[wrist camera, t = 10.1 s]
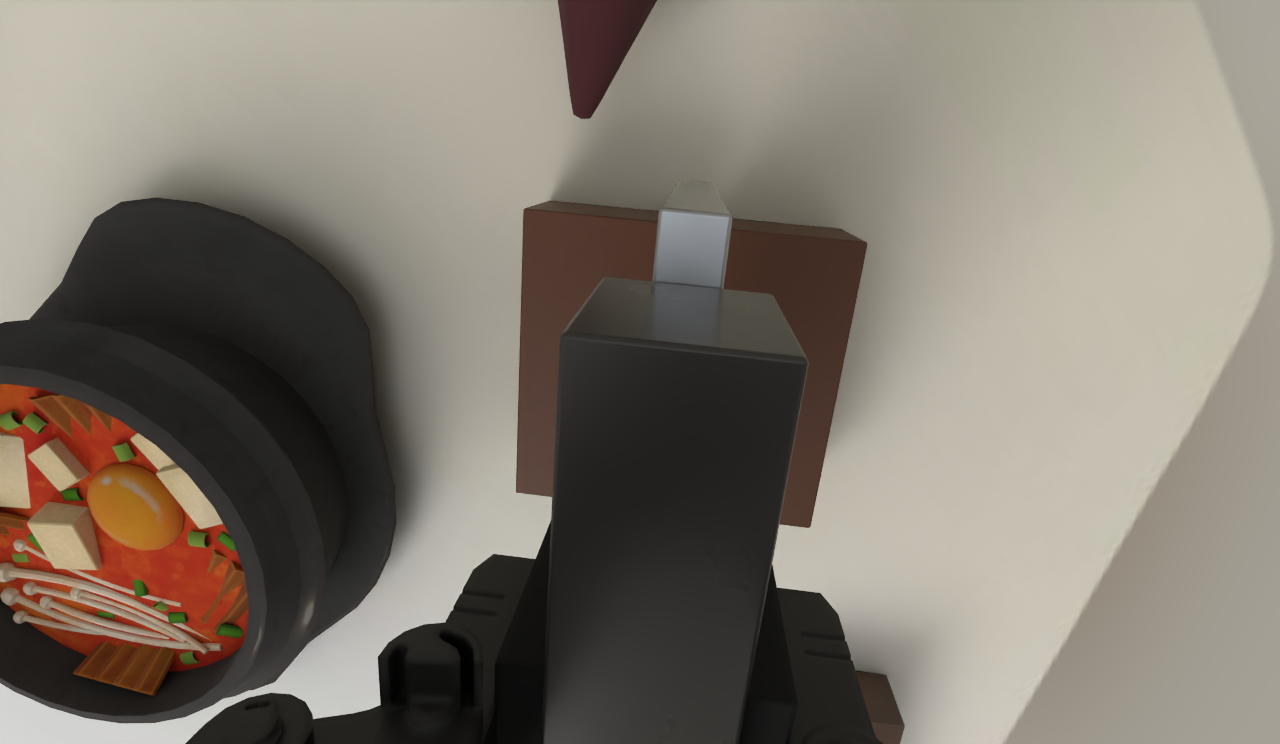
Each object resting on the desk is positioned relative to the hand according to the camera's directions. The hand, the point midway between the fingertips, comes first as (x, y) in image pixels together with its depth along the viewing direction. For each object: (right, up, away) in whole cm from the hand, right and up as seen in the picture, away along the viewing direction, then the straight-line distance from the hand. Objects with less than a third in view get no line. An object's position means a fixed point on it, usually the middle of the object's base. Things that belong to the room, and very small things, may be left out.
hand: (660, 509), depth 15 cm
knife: (+1, +2, +6) cm, 6 cm away
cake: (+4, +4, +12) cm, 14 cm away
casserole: (-20, -1, +16) cm, 26 cm away
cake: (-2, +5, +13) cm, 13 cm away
